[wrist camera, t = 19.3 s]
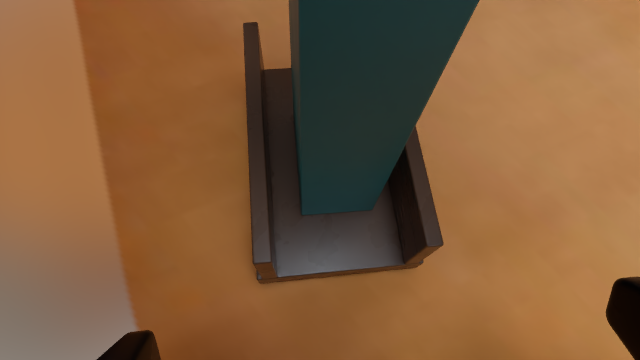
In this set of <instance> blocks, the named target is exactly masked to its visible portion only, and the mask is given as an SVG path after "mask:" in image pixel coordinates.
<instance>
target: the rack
mask: <svg viewBox="0 0 640 360" xmlns="http://www.w3.org/2000/svg"><path fill="white" fill-rule="evenodd" d="M243 31H244V56H245V81H246V106H247V131H248V156H249V180H250V205H251V230H252V255H253V264H254V266H255V268H256V272H257V280H258V282H259V283H260V284H262V283H271V282H281V281H291V280H300V279H310V278H319V277H329V276H339V275H348V274H358V273H368V272H377V271H387V270H396V269H406V268H416V267H418V266H419V265H421V264H422V263H423V259H425V258H426V257H427V256H429V255H430V254H431V253H433V252H434V251H436V250H437V249H438V248H440V247H441V246H443V240H442V235H441V231H440V227H439V223H438V219H437V214H436V210H435V206H434V202H433V197H432V193H431V189H430V185H429V181H428V176H427V172H426V168H425V164H424V160H423V155H422V151H421V147H420V143H419V138H418V134H417V130H416V126H415V127H414V129H413V131H412V133H411V135H410V137H409V139H408V141H407V143H406V145H405V147H404V149H403V151H402V153H401V155H400V157H399V159H398V161H397V162H396V164H395V166H394V168H393V170H392V172H391V174H390V176H389V178H388V180H387V182H386V184H385V186H384V188H383V190H382V192H381V194H380V196H379V198H378V200H377V202H376V204H375V206H374V207H373V209H372V210H365V211H351V212H338V213H324V214H311V215H301V209H300V196H299V183H298V169H297V156H296V143H295V130H294V117H293V95H292V70H291V68H284V69H267V70H264V64H263V57H262V50H261V43H260V36H259V29H258V23H257V22H251V23H244V24H243Z"/></svg>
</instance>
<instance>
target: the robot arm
mask: <svg viewBox="0 0 640 360" xmlns="http://www.w3.org/2000/svg"><path fill="white" fill-rule="evenodd" d="M606 317H607V320H608V322H609V324H610V326H611V327H612V329H613V330H614V331H615V333H616V334H617V336H618V337H619V338H620V340H621V341H622V343H623V344H624V345H625V347H626V348H627V349H628V351H629V352H630V354H631V355H632V356H633V358H634V359H635V360H640V277H627V278H620V279H618V280H616V281H615V283H614V284H613V287H612V291H611V295H610V298H609V302H608V305H607V309H606ZM97 360H161V358H160V354H159V350H158V347H157V343H156V339H155V336H154V334H153V332H152V331H149V330H145V331H136V332H130V333H127V334H126V335H124V336H123V337H122V338H121V339H120V340H118V341H117V342H116V343H115V344H114V345H113V346H112V347H110V348H109V349H108V350H107V351H106V352H105V353H104V354H103V355H101V356H100V357H99V358H98V359H97Z"/></svg>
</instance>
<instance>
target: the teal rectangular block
mask: <svg viewBox="0 0 640 360" xmlns="http://www.w3.org/2000/svg"><path fill="white" fill-rule="evenodd" d="M478 2H479V0H289V21H290V46H291V70H292V95H293V117H294V130H295V143H296V156H297V169H298V183H299V196H300V209H301V215H311V214H324V213H338V212H351V211H365V210H372V209H373V207H374V206H375V204H376V202H377V200H378V198H379V196H380V194H381V192H382V190H383V188H384V186H385V184H386V182H387V180H388V178H389V176H390V174H391V172H392V170H393V168H394V166H395V164H396V162H397V161H398V159H399V157H400V155H401V153H402V151H403V149H404V147H405V145H406V143H407V141H408V139H409V137H410V135H411V133H412V131H413V129H414V127H415V125H416V123H417V121H418V119H419V117H420V116H421V114H422V112H423V110H424V108H425V106H426V104H427V102H428V100H429V98H430V96H431V94H432V92H433V90H434V88H435V86H436V84H437V82H438V80H439V78H440V76H441V74H442V72H443V71H444V69H445V67H446V65H447V63H448V61H449V59H450V57H451V55H452V53H453V51H454V49H455V47H456V45H457V43H458V41H459V39H460V37H461V35H462V33H463V31H464V29H465V27H466V26H467V24H468V22H469V20H470V18H471V16H472V14H473V12H474V10H475V8H476V6H477V4H478Z"/></svg>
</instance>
